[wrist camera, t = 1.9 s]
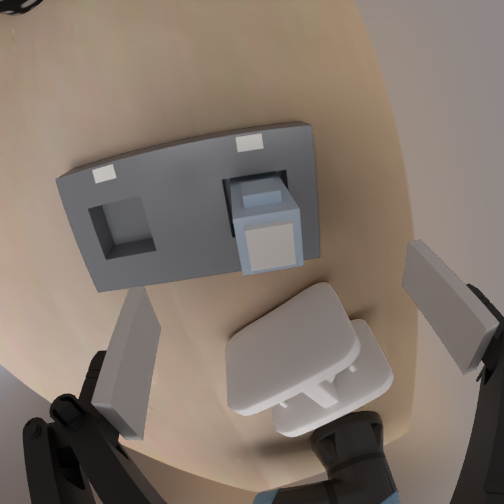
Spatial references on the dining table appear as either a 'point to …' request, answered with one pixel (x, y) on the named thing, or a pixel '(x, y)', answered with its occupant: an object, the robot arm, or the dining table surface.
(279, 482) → the dining table surface
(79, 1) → the dining table surface
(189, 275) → the socket panel
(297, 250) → the plug
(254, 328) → the cable organizer
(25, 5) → the spotted tube
